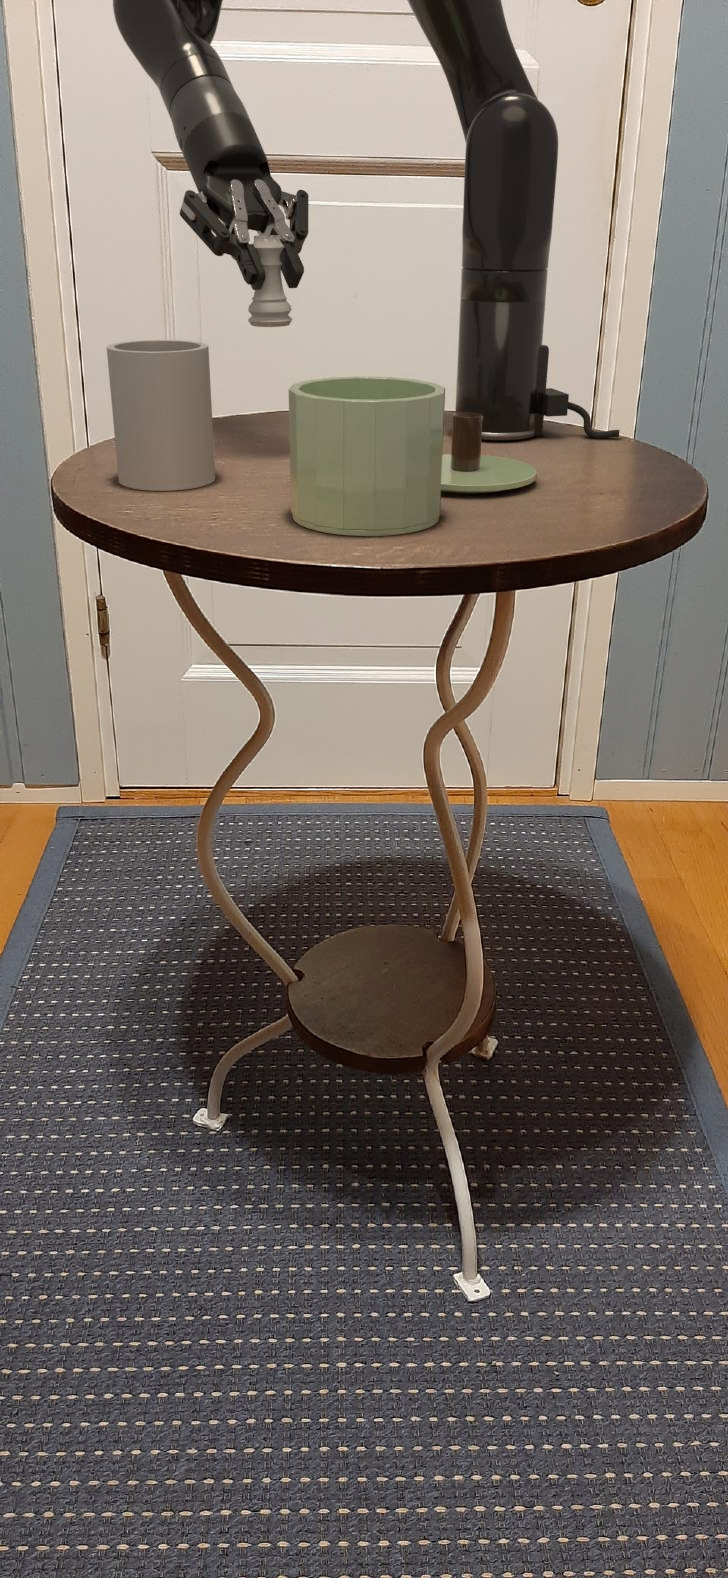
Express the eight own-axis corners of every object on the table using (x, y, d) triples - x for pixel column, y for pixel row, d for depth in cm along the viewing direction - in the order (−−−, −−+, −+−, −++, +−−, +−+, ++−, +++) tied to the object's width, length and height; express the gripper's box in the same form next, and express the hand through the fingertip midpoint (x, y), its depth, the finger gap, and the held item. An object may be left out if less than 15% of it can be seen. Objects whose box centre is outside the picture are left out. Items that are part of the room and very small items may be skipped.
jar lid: (502, 462, 118) (505, 399, 115) (560, 493, 106) (566, 424, 103) (375, 470, 114) (376, 405, 111) (421, 502, 103) (424, 431, 100)
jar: (411, 494, 105) (414, 374, 100) (461, 530, 95) (468, 397, 90) (277, 503, 102) (274, 379, 97) (314, 541, 91) (312, 404, 87)
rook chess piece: (290, 321, 117) (287, 234, 113) (295, 326, 113) (292, 236, 109) (246, 322, 116) (242, 234, 112) (249, 327, 112) (245, 237, 108)
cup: (121, 492, 105) (108, 353, 99) (116, 471, 113) (104, 341, 107) (220, 488, 107) (213, 351, 101) (209, 467, 115) (202, 339, 109)
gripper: (159, 107, 108) (221, 256, 105) (292, 111, 114) (355, 252, 111) (144, 171, 115) (202, 314, 111) (270, 171, 121) (329, 306, 117)
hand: (278, 282), depth 111 cm, fingers closed on rook chess piece, 3 cm apart
